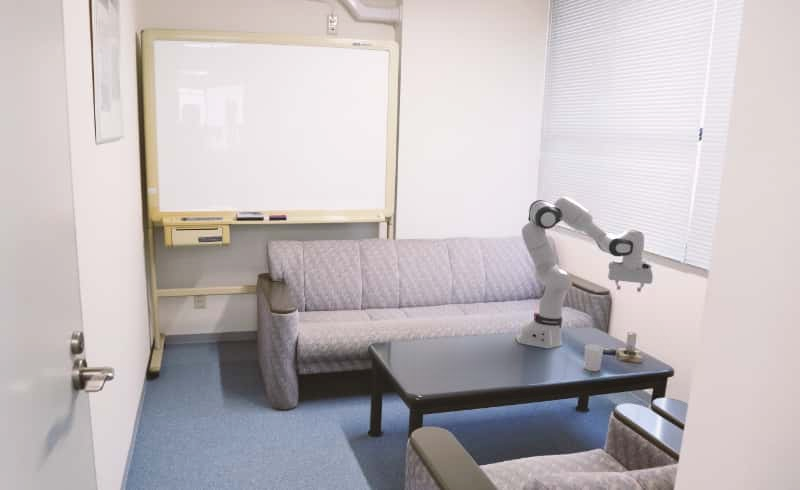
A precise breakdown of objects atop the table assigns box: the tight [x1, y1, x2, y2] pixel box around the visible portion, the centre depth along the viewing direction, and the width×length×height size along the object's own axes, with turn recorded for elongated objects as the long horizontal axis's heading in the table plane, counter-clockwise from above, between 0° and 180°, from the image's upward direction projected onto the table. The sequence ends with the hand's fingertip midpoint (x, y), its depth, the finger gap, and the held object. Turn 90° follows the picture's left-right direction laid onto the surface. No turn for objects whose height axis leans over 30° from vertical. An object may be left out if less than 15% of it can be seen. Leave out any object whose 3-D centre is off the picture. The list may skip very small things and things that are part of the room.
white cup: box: [583, 343, 604, 372], centre depth 270 cm, size 8×8×10 cm
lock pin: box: [603, 347, 617, 355], centre depth 292 cm, size 8×2×2 cm, turn 75°
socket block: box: [616, 347, 643, 364], centre depth 287 cm, size 10×10×2 cm
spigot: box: [625, 331, 637, 355], centre depth 286 cm, size 4×4×12 cm
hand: (628, 290), depth 296 cm, fingers open, 8 cm apart
